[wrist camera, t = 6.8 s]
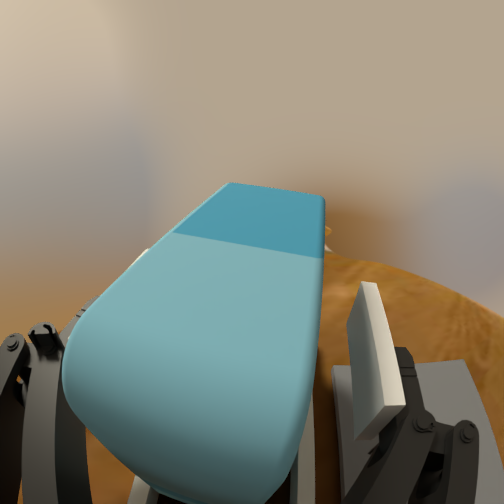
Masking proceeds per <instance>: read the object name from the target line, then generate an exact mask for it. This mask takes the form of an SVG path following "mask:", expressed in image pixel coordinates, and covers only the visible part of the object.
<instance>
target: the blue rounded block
mask: <svg viewBox="0 0 504 504" xmlns="http://www.w3.org/2000/svg"><path fill="white" fill-rule="evenodd" d="M324 245H325V199H324V198H323V197H322V196H319V195H313V194H307V193H301V192H295V191H289V190H282V189H275V188H268V187H261V186H254V185H246V184H239V183H227V184H225V185H224V186H223V187H221V188H220V189H219V190H218V191H216V192H215V193H214V194H213V195H211V196H210V197H209V198H208V199H207V200H206V201H204V202H203V203H202V204H200V205H199V206H198V207H197V208H196V209H195V210H194V211H192V212H191V213H190V214H189V215H188V216H186V217H185V218H184V219H183V220H182V221H180V222H179V223H178V224H177V225H176V226H175V227H173V228H172V229H171V230H170V231H169V232H168V233H167V234H165V235H164V236H163V237H162V238H161V239H160V240H159V241H158V242H157V243H155V244H154V245H153V246H152V247H151V248H150V249H149V250H148V251H147V252H145V253H144V254H143V255H142V256H141V257H140V258H139V259H138V260H137V261H136V262H135V263H134V264H133V265H131V266H130V267H129V268H128V269H127V270H126V271H125V272H124V273H123V274H122V275H121V276H120V277H119V278H118V279H117V280H116V281H115V282H114V283H113V284H112V285H111V286H110V287H109V288H108V289H107V290H106V291H105V292H104V293H103V294H102V295H101V296H100V297H99V298H98V299H97V300H96V301H95V302H94V303H93V304H92V305H91V306H90V307H89V308H88V309H87V310H86V311H85V312H84V313H83V314H82V316H81V317H80V319H79V320H78V321H77V323H76V325H75V326H74V328H73V330H72V332H71V334H70V337H69V339H68V342H67V345H66V348H65V352H64V357H63V362H62V384H63V390H64V394H65V397H66V400H67V402H68V404H69V406H70V408H71V409H72V411H73V412H74V413H75V415H76V416H77V417H78V418H79V419H80V420H81V422H82V423H83V424H84V425H85V426H86V427H87V428H88V429H89V430H90V432H91V433H92V434H93V435H94V436H95V437H96V438H97V439H98V440H99V441H100V442H101V443H102V444H103V445H104V446H105V447H106V448H107V449H108V450H109V451H110V452H111V453H112V454H113V455H114V456H115V457H116V458H117V459H118V460H120V461H121V462H122V463H123V464H124V465H125V466H126V467H127V468H129V469H130V470H131V471H132V472H133V473H134V474H136V475H137V476H138V477H139V478H140V479H142V480H143V481H144V482H145V483H146V484H148V485H149V486H150V487H152V488H153V489H154V490H156V491H157V492H158V493H160V494H163V495H165V496H168V497H170V498H173V499H176V500H178V501H181V502H184V503H187V504H264V503H265V502H266V501H267V500H268V499H269V498H270V497H271V496H272V495H273V494H274V492H275V491H276V490H277V489H278V488H279V487H280V486H281V485H282V483H283V482H284V480H285V479H286V477H287V475H288V473H289V471H290V469H291V467H292V464H293V462H294V459H295V456H296V454H297V451H298V448H299V445H300V441H301V438H302V435H303V431H304V427H305V423H306V419H307V415H308V411H309V406H310V401H311V395H312V390H313V383H314V375H315V367H316V358H317V348H318V338H319V328H320V316H321V303H322V288H323V270H324Z"/></svg>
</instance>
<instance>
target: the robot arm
mask: <svg viewBox="0 0 504 504" xmlns="http://www.w3.org/2000/svg"><path fill="white" fill-rule="evenodd" d="M148 250H149V249H146V250H145V251H144V252H143V253H142V254H141V255H140V256H139V257H138V258H137V259H136V260H135V261H134V263H135V262H136V261H137V260H138V259H139V258H140V257H141V256H142V255H143V254H144V253H145V252H147V251H148ZM134 263H133V264H134ZM133 264H132V265H133ZM99 297H100V296H95V297H94V298H92V299H91V300H89V301H88V302H87V303H86V304H85V305H84V306H83V307H82V308H81V310H80V311H79V312H78V313H77V314H76V316H74V318H73V319H72V320H71V321H70V322H69V323H68V325H67V326H66V327H65V328H64V329H63V330H62V332H61V333H60V334H59V335H58V333H57V331H56V329H55V327H54V325H53V324H51V323H50V322H42V323H38V324H36V325H35V326H33V327H32V328H31V329H30V331H29V333H28V336H29V338H30V339H31V341H32V343H27V342H26V340H25V339H24V337H23V336H22V335H21V334H19V333H14V334H11V335H9V336H8V337H7V338H6V339H5V340H4V341H3V343H2V345H1V347H0V504H17V502H18V495H19V489H20V483H21V477H22V493H23V504H92V498H91V491H90V484H89V475H88V465H87V453H86V434H85V425H84V424H83V423H82V422H81V420H80V419H79V418H78V417H77V416H76V415H75V413H74V412H73V411H72V409H71V408H70V406H69V404H68V402H67V400H66V397H65V394H64V390H63V384H62V362H63V357H64V352H65V348H66V345H67V342H68V339H69V337H70V334H71V332H72V330H73V328H74V326H75V325H76V323H77V321H78V320H79V319H80V317H81V316H82V314H83V313H84V312H85V311H86V310H87V309H88V308H89V307H90V306H91V305H92V304H93V303H94V302H95V301H96V300H97V299H98V298H99ZM346 325H347V334H348V344H349V354H350V366H351V379H352V395H353V418H354V440H373V439H374V438H375V437H376V436H377V435H378V434H379V443H378V444H377V445H376V446H375V447H373V448H372V449H371V450H370V451H369V452H368V454H369V455H370V454H371V453H372V454H371V456H370V457H369V459H368V461H367V463H366V464H365V466H364V468H363V469H362V471H361V473H360V474H359V476H358V478H357V479H356V481H355V482H354V484H353V485H352V487H351V488H350V490H349V491H348V493H347V494H346V496H345V497H344V499H343V500H342V502H341V503H340V504H406V503H407V501H408V504H475V497H476V489H477V479H478V466H479V431H478V429H477V427H476V425H475V424H474V423H473V422H472V421H469V420H461V421H460V422H458V423H457V424H456V425H455V426H452V425H448V424H443V423H439V422H437V421H436V420H435V418H434V416H433V415H432V414H431V413H430V412H428V411H427V410H425V407H424V403H423V398H422V393H421V389H420V385H419V380H418V378H417V372H416V369H415V365H414V361H413V357H412V356H411V354H410V353H409V351H408V350H407V349H406V347H394V345H393V341H392V337H391V333H390V329H389V326H388V322H387V318H386V315H385V311H384V308H383V304H382V301H381V297H380V294H379V291H378V288H377V284H376V283H370V282H363V281H361V284H360V287H359V290H358V293H357V296H356V299H355V302H354V305H353V307H352V310H351V313H350V316H349V318H348V321H347V324H346ZM18 375H19V376H20V378H21V381H20V382H19V383H18V382H17V380H16V379H17V377H18ZM408 499H409V500H408Z"/></svg>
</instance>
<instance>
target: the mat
mask: <svg viewBox="0 0 504 504" xmlns="http://www.w3.org/2000/svg"><path fill="white" fill-rule="evenodd" d="M414 365H415V369H416V372H417V378H418V380H419V385H420V389H421V393H422V398H423V403H424V407H425V410H427V411H428V412H430V413H431V414H432V415H433V416H434V418H435V420H436V421H437V422H439V423H443V424H448V425H452V426H455V425H456V424H457V423H458V422H460V421H461V420H469V421H472V422H473V423H474V424H475V425H476V427H477V429H478V431H479V466H478V479H477V489H476V497H475V504H504V470H503V466H502V462H501V458H500V455H499V451H498V448H497V444H496V441H495V438H494V434H493V431H492V428H491V425H490V423H489V420H488V417H487V414H486V411H485V409H484V406H483V403H482V401H481V398H480V396H479V393H478V391H477V389H476V386H475V384H474V381H473V379H472V377H471V375H470V372H469V370H468V368H467V366H466V364H465V362H464V359H461V360H453V361H443V362H432V363H420V364H414ZM331 375H332V383H333V392H334V401H335V411H336V422H337V433H338V446H339V461H340V480H341V502H342V500H343V499H344V497H345V496H346V494H347V493H348V491H349V490H350V488H351V487H352V485H353V484H354V482H355V481H356V479H357V478H358V476H359V474H360V473H361V471H362V469H363V468H364V466H365V464H366V463H367V461H368V459H369V457H370V456H371V454H372V453H371V454H370V455H369V454H368V452H369V451H370V450H371V449H372V448H373V447H375V446H376V445H377V444H378V443H379V434H378V435H377V436H376V437H375V438H374V439H373V440H354V418H353V395H352V379H351V366H341V365H333V367H332V369H331ZM408 500H409V499H408ZM406 504H408V501H407V503H406Z"/></svg>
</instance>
